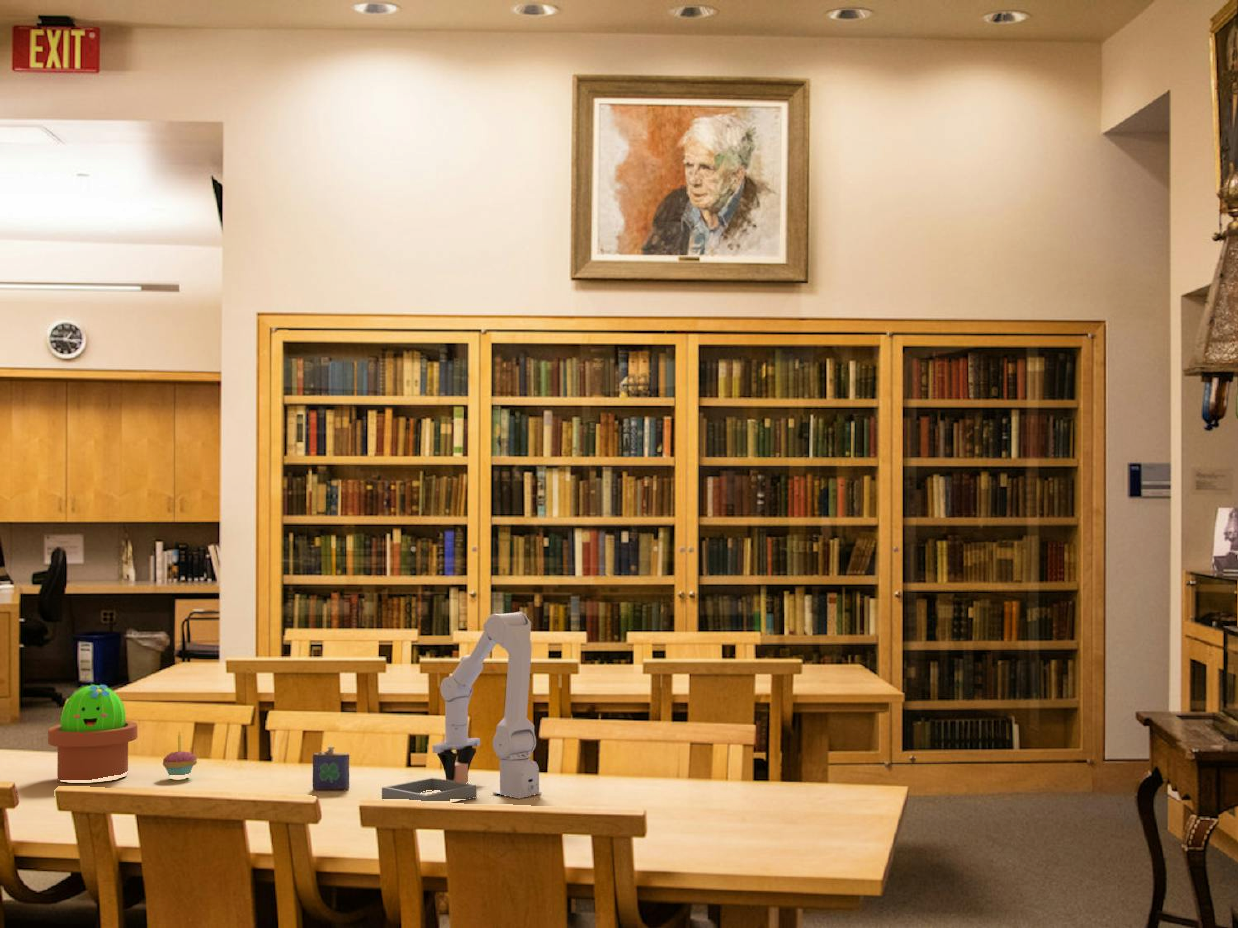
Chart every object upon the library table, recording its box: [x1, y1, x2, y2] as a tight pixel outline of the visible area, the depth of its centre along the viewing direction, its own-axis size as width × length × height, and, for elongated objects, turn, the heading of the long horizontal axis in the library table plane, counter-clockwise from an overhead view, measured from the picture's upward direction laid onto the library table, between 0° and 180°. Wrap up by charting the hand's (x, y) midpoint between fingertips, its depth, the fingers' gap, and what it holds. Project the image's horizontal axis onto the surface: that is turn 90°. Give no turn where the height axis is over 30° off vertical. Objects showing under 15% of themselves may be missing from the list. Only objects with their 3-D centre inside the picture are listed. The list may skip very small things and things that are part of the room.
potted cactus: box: [47, 684, 138, 781], centre depth 362 cm, size 22×22×25 cm
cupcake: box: [162, 731, 198, 776], centre depth 360 cm, size 9×8×12 cm
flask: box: [312, 746, 350, 792], centre depth 344 cm, size 9×3×11 cm, turn 88°
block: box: [445, 761, 469, 783], centre depth 350 cm, size 4×4×5 cm
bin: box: [381, 777, 477, 801], centre depth 331 cm, size 16×16×3 cm
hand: (456, 777), depth 350 cm, fingers closed on block, 4 cm apart
